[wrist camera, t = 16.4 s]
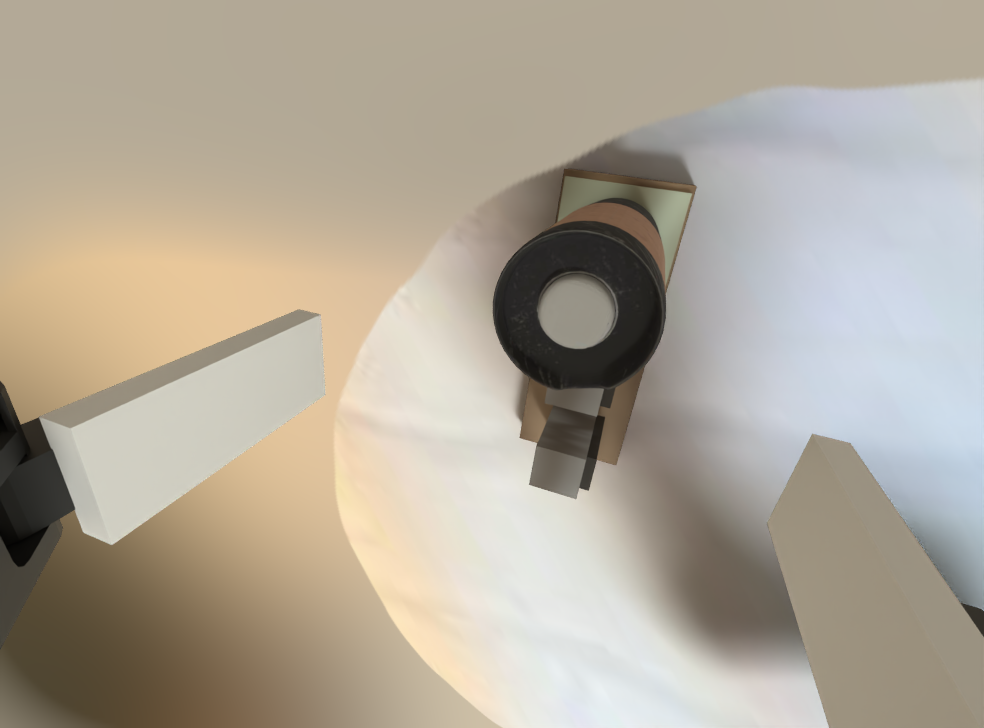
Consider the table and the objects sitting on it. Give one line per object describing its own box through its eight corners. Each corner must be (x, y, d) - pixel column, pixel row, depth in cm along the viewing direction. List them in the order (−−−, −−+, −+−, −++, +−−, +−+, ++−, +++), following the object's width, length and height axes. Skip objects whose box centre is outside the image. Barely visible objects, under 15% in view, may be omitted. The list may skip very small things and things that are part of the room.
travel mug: (607, 172, 35) (558, 183, 18) (685, 234, 35) (712, 307, 18) (547, 252, 39) (458, 325, 21) (617, 308, 39) (585, 427, 21)
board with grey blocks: (694, 185, 35) (708, 194, 26) (617, 453, 47) (607, 528, 37) (568, 168, 38) (538, 171, 28) (524, 428, 49) (492, 492, 40)
